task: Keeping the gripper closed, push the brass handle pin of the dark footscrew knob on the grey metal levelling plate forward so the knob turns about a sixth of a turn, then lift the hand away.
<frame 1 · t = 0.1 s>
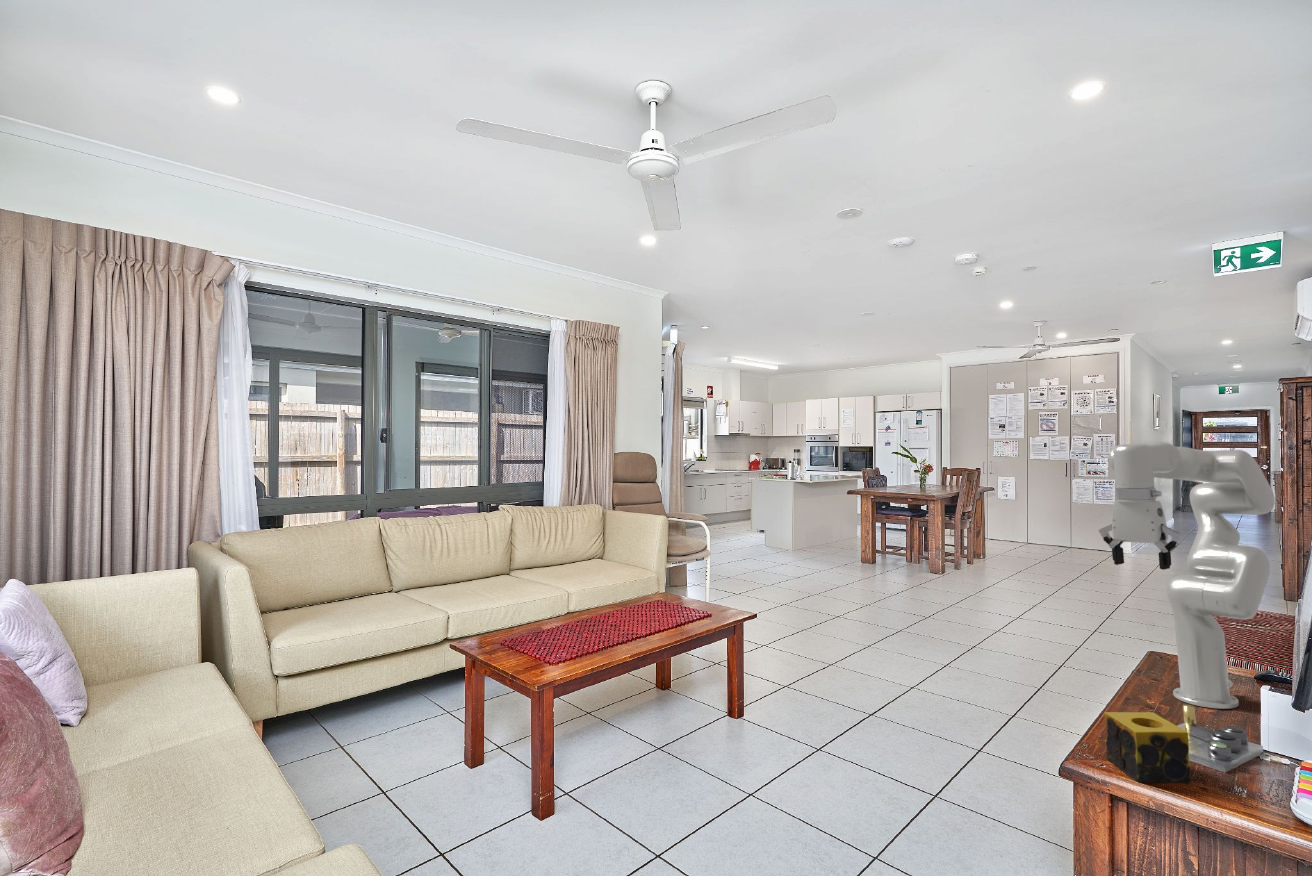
hand: (1141, 566, 151), 37 cm above the table, tool pointing down, fingers open, 9 cm apart
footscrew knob: (1210, 727, 135), point 5 cm above the table, hinge at 0.0°
levelling plate: (1203, 749, 135), on the table
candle: (1147, 772, 127), on the table
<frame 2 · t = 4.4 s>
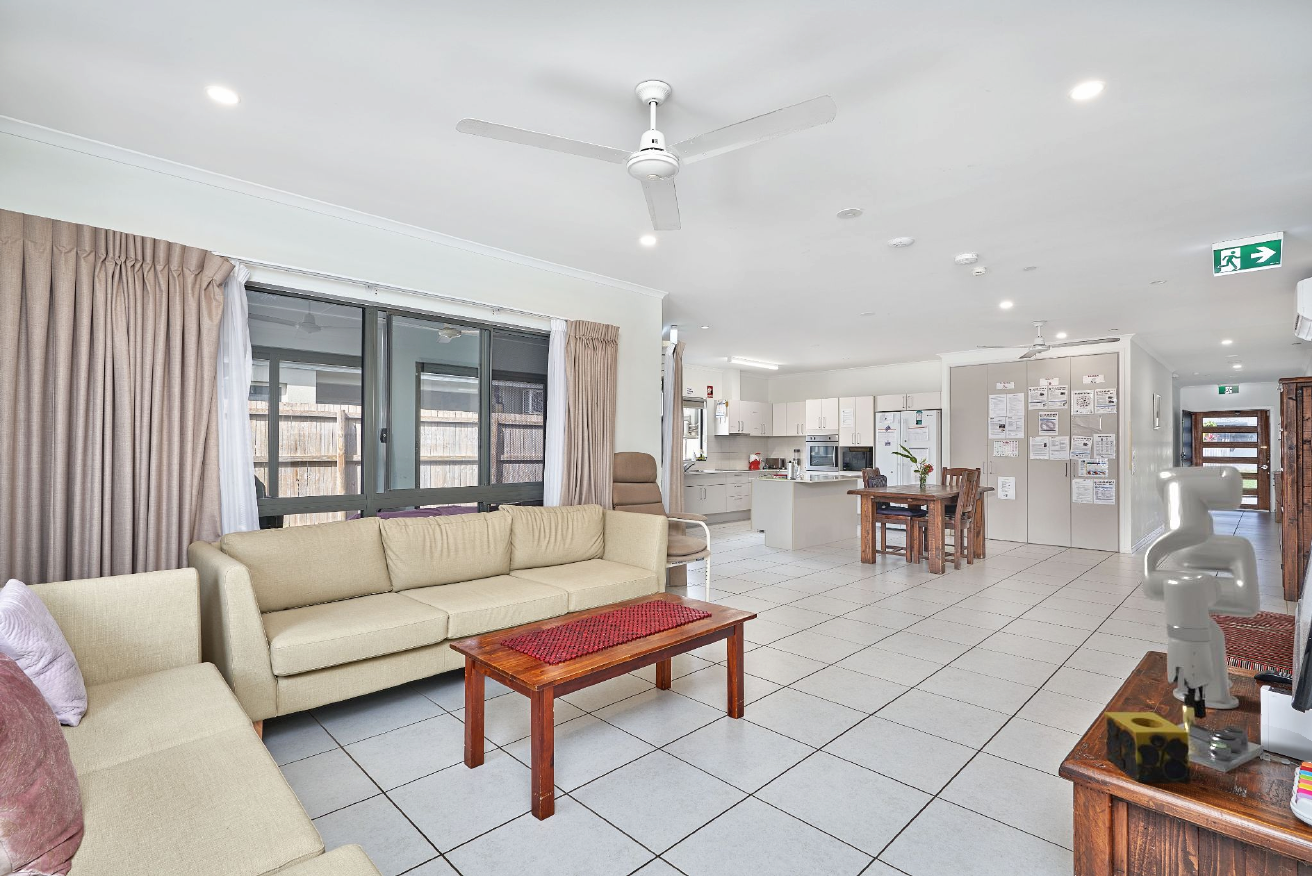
hand: (1195, 715, 140), 5 cm above the table, tool pointing down, fingers closed
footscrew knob: (1209, 727, 135), point 5 cm above the table, hinge at 1.8°, touching gripper
everything else where it was.
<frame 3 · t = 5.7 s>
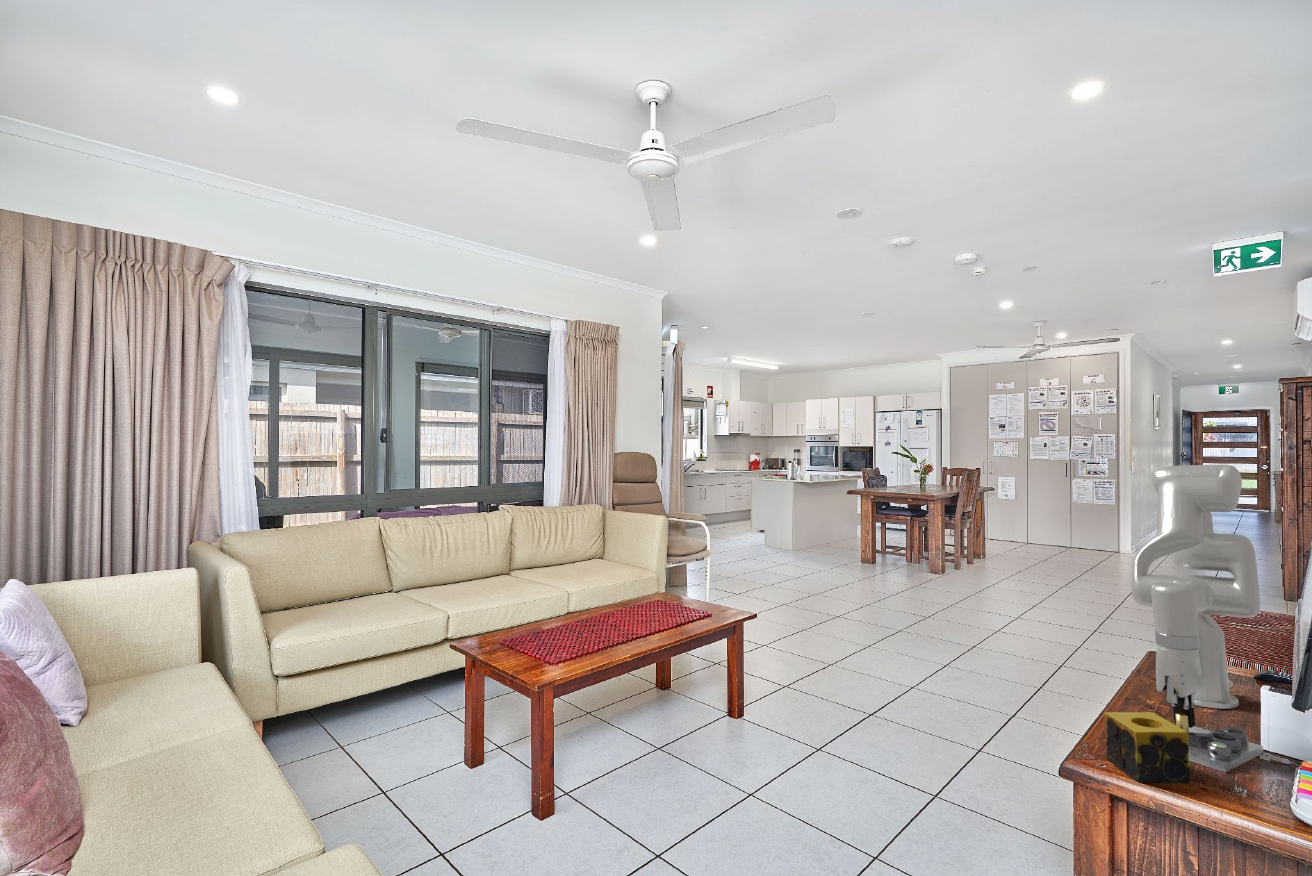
hand: (1184, 724, 137), 4 cm above the table, tool pointing down, fingers closed
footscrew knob: (1207, 730, 133), point 5 cm above the table, hinge at 56.3°, touching gripper
everything else where it was.
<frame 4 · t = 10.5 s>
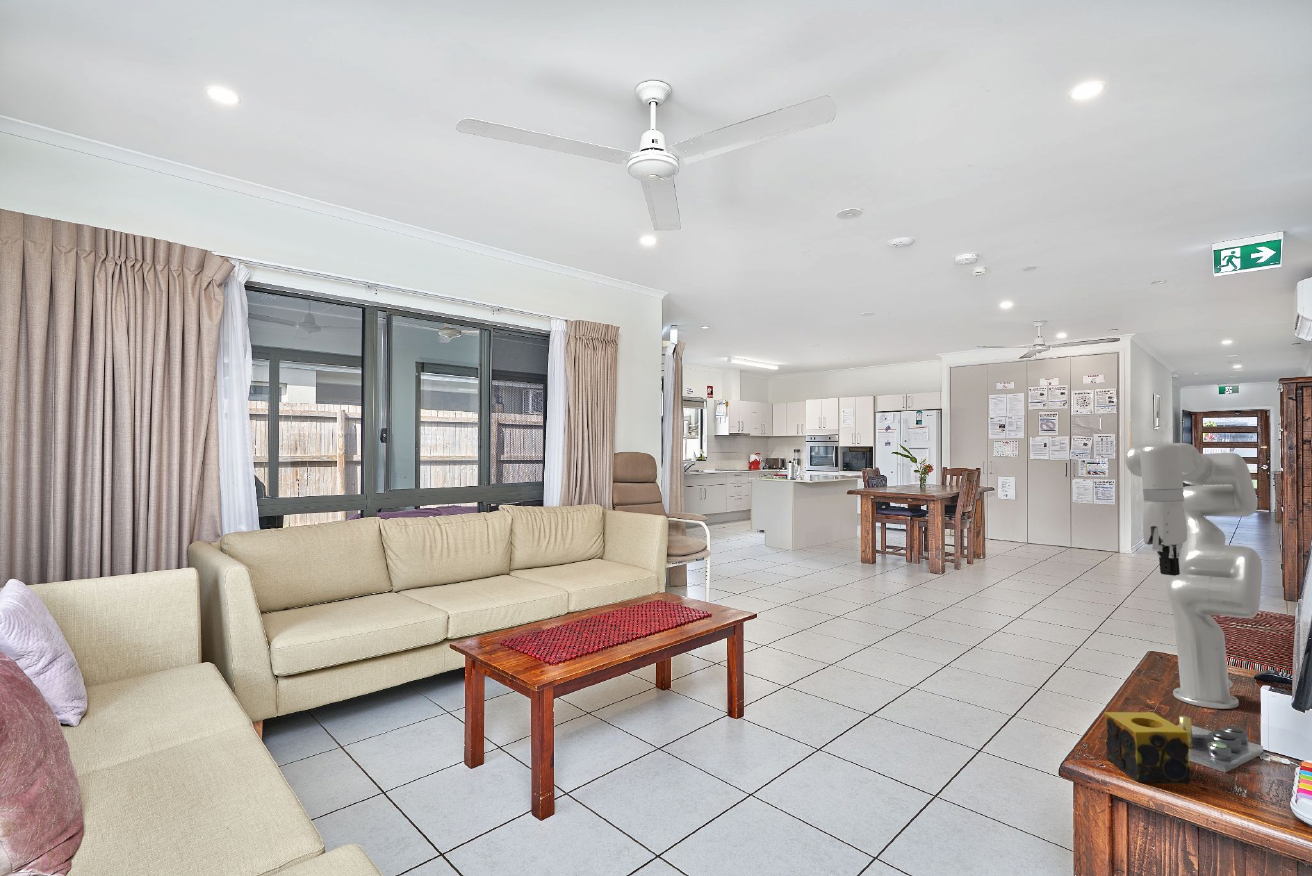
hand: (1170, 574, 148), 35 cm above the table, tool pointing down, fingers closed
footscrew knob: (1208, 732, 133), point 5 cm above the table, hinge at 68.0°
everything else where it was.
at the end: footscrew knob at +68° (first picture: +0°) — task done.
